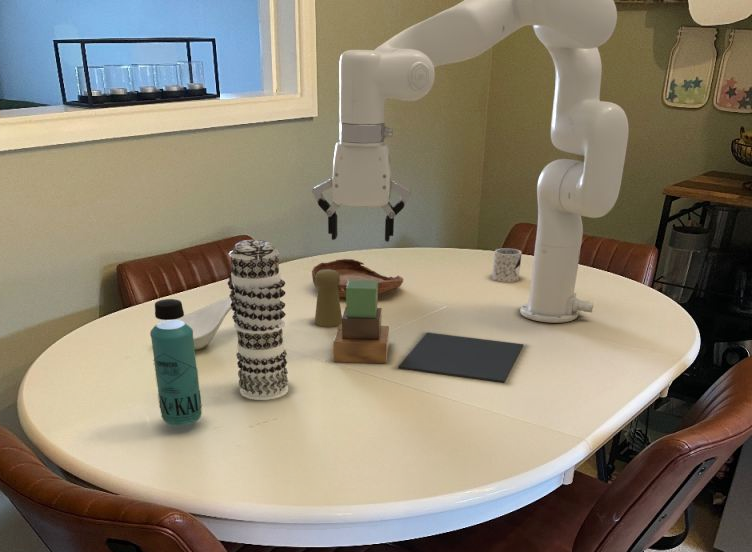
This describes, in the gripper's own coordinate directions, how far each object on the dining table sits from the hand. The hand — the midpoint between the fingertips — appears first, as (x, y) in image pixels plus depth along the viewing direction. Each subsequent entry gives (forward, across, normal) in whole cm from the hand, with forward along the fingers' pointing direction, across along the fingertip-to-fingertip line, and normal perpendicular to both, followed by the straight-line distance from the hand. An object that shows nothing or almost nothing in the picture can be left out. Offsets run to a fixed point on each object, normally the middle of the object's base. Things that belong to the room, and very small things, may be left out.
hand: (360, 239), depth 140 cm
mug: (+21, -32, -57) cm, 69 cm away
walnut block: (+18, 0, 0) cm, 18 cm away
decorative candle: (+22, +15, +20) cm, 33 cm away
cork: (+22, +8, -17) cm, 29 cm away
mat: (+21, -20, +1) cm, 29 cm away
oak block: (+21, 0, 0) cm, 21 cm away
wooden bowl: (+21, +4, -41) cm, 46 cm away
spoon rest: (+22, +30, -4) cm, 38 cm away
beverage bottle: (+22, +25, +35) cm, 49 cm away
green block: (+14, 0, +1) cm, 14 cm away
